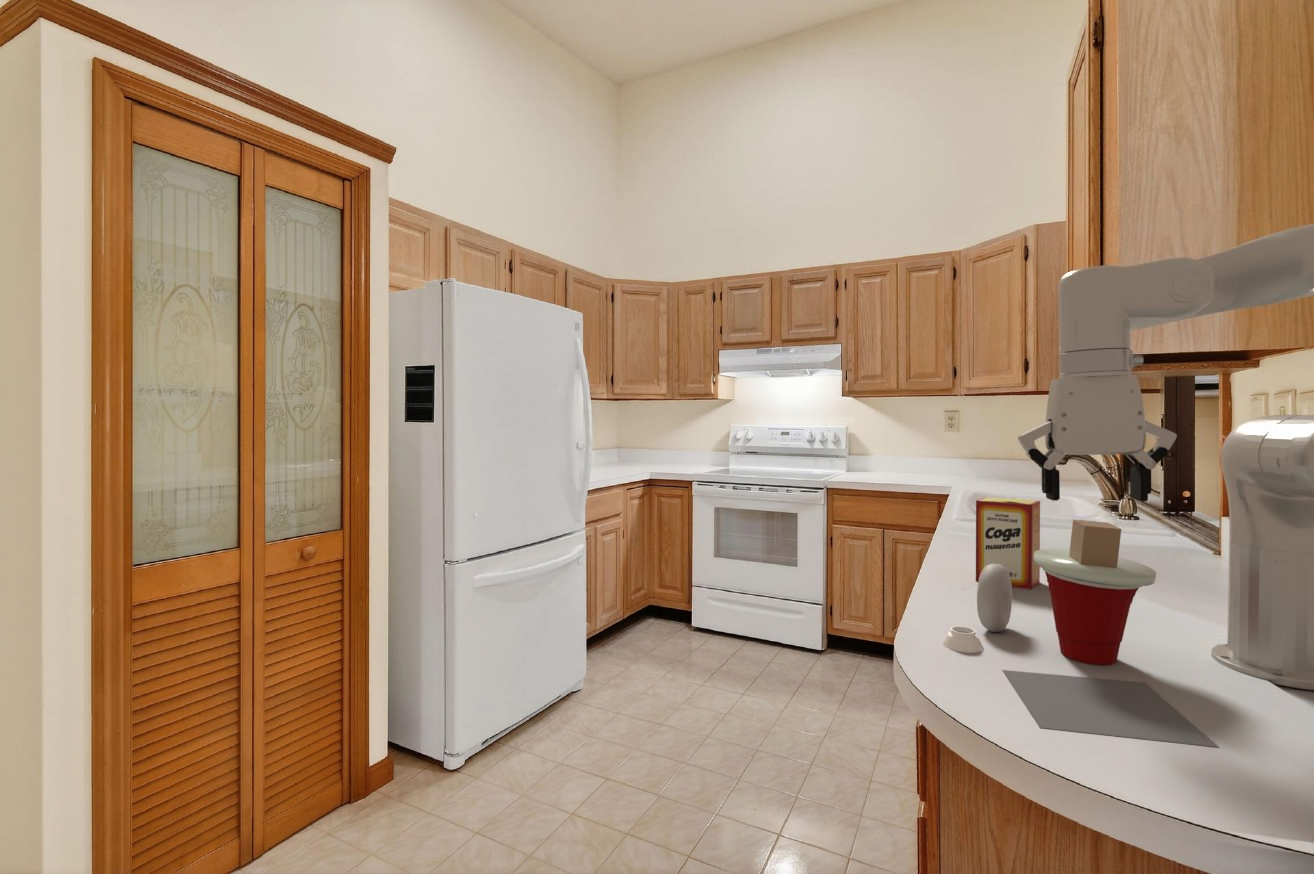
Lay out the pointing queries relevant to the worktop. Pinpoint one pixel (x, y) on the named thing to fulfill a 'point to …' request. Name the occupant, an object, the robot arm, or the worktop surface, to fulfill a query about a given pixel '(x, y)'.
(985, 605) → the donut
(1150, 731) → the mat
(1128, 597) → the plastic cup
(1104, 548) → the lid
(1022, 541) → the baking soda box
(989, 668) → the worktop surface
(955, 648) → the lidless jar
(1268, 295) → the robot arm
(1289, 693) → the worktop surface
